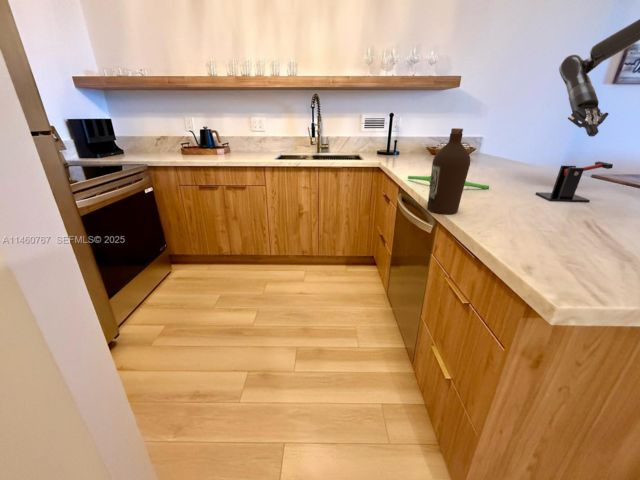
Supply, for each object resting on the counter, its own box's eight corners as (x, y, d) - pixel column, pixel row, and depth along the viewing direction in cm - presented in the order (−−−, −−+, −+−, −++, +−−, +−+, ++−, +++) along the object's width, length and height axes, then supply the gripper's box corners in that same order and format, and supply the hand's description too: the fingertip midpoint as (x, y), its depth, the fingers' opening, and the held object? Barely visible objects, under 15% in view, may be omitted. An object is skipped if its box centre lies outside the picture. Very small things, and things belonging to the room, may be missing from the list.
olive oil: (454, 205, 98) (470, 127, 88) (464, 216, 89) (483, 130, 78) (422, 204, 100) (434, 127, 89) (428, 214, 90) (443, 129, 80)
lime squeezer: (488, 189, 119) (492, 173, 116) (486, 195, 110) (491, 179, 107) (408, 179, 135) (409, 165, 132) (400, 184, 125) (402, 170, 123)
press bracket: (571, 196, 109) (583, 164, 104) (588, 203, 101) (602, 169, 96) (534, 195, 110) (545, 164, 105) (549, 202, 102) (560, 168, 97)
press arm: (598, 166, 102) (599, 159, 101) (612, 169, 97) (613, 162, 96) (560, 174, 105) (560, 167, 104) (571, 177, 99) (572, 171, 98)
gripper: (571, 90, 108) (581, 127, 102) (609, 90, 106) (622, 127, 100) (557, 106, 115) (566, 141, 109) (593, 106, 113) (604, 142, 107)
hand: (593, 134), depth 105 cm, fingers closed
